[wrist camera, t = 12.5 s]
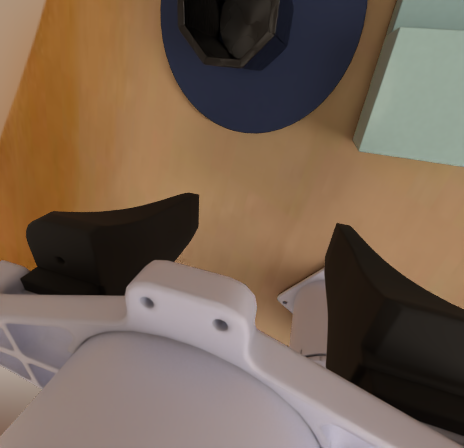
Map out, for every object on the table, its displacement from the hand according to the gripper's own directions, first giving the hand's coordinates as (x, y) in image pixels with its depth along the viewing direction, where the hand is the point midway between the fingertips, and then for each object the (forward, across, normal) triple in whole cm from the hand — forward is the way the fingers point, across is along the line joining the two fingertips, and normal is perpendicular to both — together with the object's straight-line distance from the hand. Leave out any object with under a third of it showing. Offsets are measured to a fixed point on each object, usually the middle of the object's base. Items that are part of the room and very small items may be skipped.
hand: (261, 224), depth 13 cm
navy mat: (+10, +4, -9) cm, 15 cm away
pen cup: (+10, +4, -10) cm, 14 cm away
